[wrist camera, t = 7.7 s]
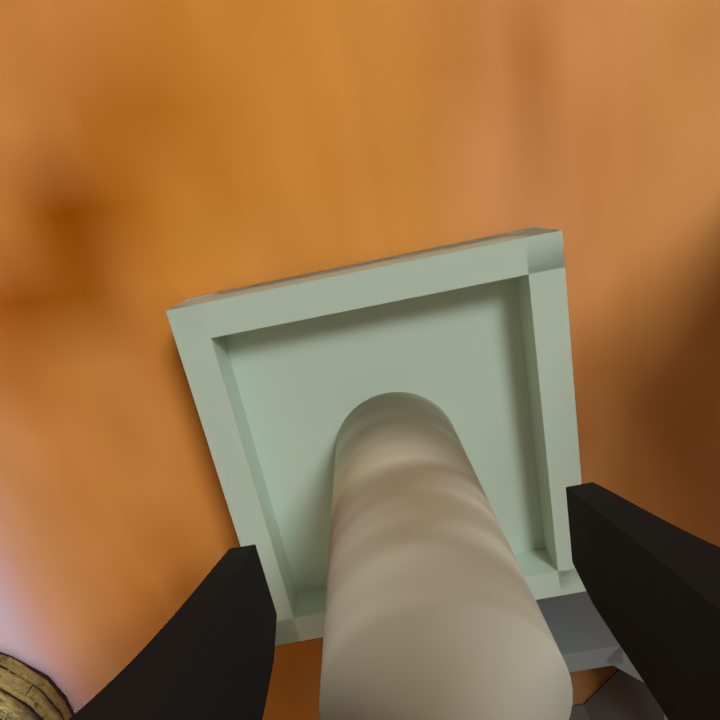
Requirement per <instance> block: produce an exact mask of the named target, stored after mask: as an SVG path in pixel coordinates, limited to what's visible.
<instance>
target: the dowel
mask: <svg viewBox="0 0 720 720" xmlns="http://www.w3.org/2000/svg"><path fill="white" fill-rule="evenodd" d="M572 703H573V688H572V682H571V677H570V674H569V671H568V668H567V665H566V663H565V661H564V659H563V657H562V655H561V653H560V650H559V648H558V646H557V644H556V642H555V640H554V638H553V636H552V634H551V632H550V629H549V627H548V625H547V623H546V621H545V619H544V617H543V615H542V613H541V610H540V608H539V606H538V604H537V602H536V600H535V598H534V596H533V594H532V591H531V589H530V587H529V585H528V583H527V581H526V579H525V577H524V575H523V572H522V570H521V568H520V566H519V564H518V562H517V560H516V558H515V556H514V553H513V551H512V549H511V547H510V545H509V543H508V541H507V539H506V537H505V534H504V532H503V530H502V528H501V526H500V524H499V522H498V520H497V518H496V516H495V513H494V511H493V509H492V507H491V505H490V503H489V501H488V499H487V497H486V494H485V492H484V490H483V488H482V486H481V484H480V482H479V480H478V478H477V475H476V473H475V471H474V469H473V467H472V465H471V463H470V461H469V459H468V456H467V454H466V452H465V450H464V448H463V446H462V444H461V442H460V440H459V437H458V435H457V433H456V431H455V429H454V427H453V425H452V423H451V421H450V419H449V418H448V416H447V415H446V414H445V412H444V411H443V410H442V409H441V408H440V407H439V406H437V405H436V404H435V403H433V402H432V401H430V400H428V399H427V398H424V397H422V396H419V395H416V394H412V393H406V392H390V393H384V394H380V395H377V396H374V397H372V398H369V399H368V400H366V401H364V402H362V403H361V404H359V405H358V406H357V407H356V408H355V409H353V410H352V411H351V412H350V414H349V415H348V416H347V417H346V419H345V420H344V422H343V423H342V425H341V428H340V430H339V433H338V436H337V441H336V452H335V467H334V482H333V497H332V513H331V528H330V543H329V558H328V574H327V589H326V604H325V619H324V634H323V650H322V665H321V680H320V695H319V718H320V720H569V718H570V715H571V709H572Z"/></svg>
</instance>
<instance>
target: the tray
mask: <svg viewBox="0 0 720 720" xmlns="http://www.w3.org/2000/svg"><path fill="white" fill-rule="evenodd" d="M166 313H167V316H168V320H169V323H170V326H171V329H172V332H173V335H174V338H175V342H176V345H177V348H178V351H179V354H180V357H181V360H182V364H183V367H184V370H185V373H186V376H187V379H188V382H189V386H190V389H191V392H192V395H193V398H194V401H195V404H196V408H197V411H198V414H199V417H200V420H201V423H202V426H203V430H204V433H205V436H206V439H207V442H208V445H209V449H210V452H211V455H212V458H213V461H214V464H215V467H216V471H217V474H218V477H219V480H220V483H221V486H222V489H223V493H224V496H225V499H226V502H227V505H228V508H229V511H230V515H231V518H232V521H233V524H234V527H235V530H236V533H237V537H238V540H239V543H240V546H241V547H243V546H248V545H254V544H255V545H256V548H257V551H258V555H259V558H260V561H261V564H262V568H263V571H264V574H265V577H266V581H267V584H268V587H269V590H270V594H271V597H272V600H273V603H274V607H275V610H276V613H277V622H276V637H275V646H276V645H282V644H288V643H293V642H299V641H305V640H311V639H316V638H322V637H323V634H324V619H325V604H326V589H327V574H328V558H329V543H330V528H331V513H332V497H333V482H334V467H335V452H336V441H337V436H338V433H339V430H340V428H341V425H342V423H343V422H344V420H345V419H346V417H347V416H348V415H349V414H350V412H351V411H352V410H353V409H355V408H356V407H357V406H358V405H359V404H361V403H362V402H364V401H366V400H368V399H369V398H372V397H374V396H377V395H380V394H384V393H390V392H406V393H412V394H416V395H419V396H422V397H424V398H427V399H428V400H430V401H432V402H433V403H435V404H436V405H437V406H439V407H440V408H441V409H442V410H443V411H444V412H445V414H446V415H447V416H448V418H449V419H450V421H451V423H452V425H453V427H454V429H455V431H456V433H457V435H458V437H459V440H460V442H461V444H462V446H463V448H464V450H465V452H466V454H467V456H468V459H469V461H470V463H471V465H472V467H473V469H474V471H475V473H476V475H477V478H478V480H479V482H480V484H481V486H482V488H483V490H484V492H485V494H486V497H487V499H488V501H489V503H490V505H491V507H492V509H493V511H494V513H495V516H496V518H497V520H498V522H499V524H500V526H501V528H502V530H503V532H504V534H505V537H506V539H507V541H508V543H509V545H510V547H511V549H512V551H513V553H514V556H515V558H516V560H517V562H518V564H519V566H520V568H521V570H522V572H523V575H524V577H525V579H526V581H527V583H528V585H529V587H530V589H531V591H532V594H533V596H534V598H535V600H538V599H544V598H550V597H556V596H561V595H567V594H573V593H578V592H584V591H586V589H585V587H584V585H583V583H582V581H581V579H580V577H579V575H578V573H577V571H576V569H575V567H574V564H573V562H572V553H571V541H570V530H569V519H568V508H567V496H566V487H569V486H575V485H580V484H582V481H581V468H580V455H579V443H578V430H577V417H576V404H575V391H574V378H573V366H572V353H571V340H570V327H569V314H568V302H567V289H566V276H565V263H564V250H563V238H562V230H555V229H545V228H531V229H526V230H521V231H516V232H511V233H506V234H501V235H496V236H492V237H487V238H482V239H477V240H472V241H467V242H462V243H457V244H452V245H447V246H442V247H438V248H433V249H428V250H423V251H418V252H413V253H408V254H403V255H398V256H393V257H389V258H384V259H379V260H374V261H369V262H364V263H359V264H354V265H349V266H344V267H340V268H335V269H330V270H325V271H320V272H315V273H310V274H305V275H300V276H295V277H290V278H286V279H281V280H276V281H271V282H266V283H261V284H256V285H251V286H246V287H241V288H237V289H232V290H227V291H222V292H217V293H212V294H207V295H202V296H197V297H192V298H188V299H186V300H184V301H182V302H181V303H179V304H177V305H175V306H173V307H172V308H170V309H168V310H166Z"/></svg>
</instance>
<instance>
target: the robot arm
mask: <svg viewBox="0 0 720 720" xmlns="http://www.w3.org/2000/svg"><path fill="white" fill-rule="evenodd" d="M566 496H567V508H568V519H569V530H570V541H571V553H572V562H573V564H574V567H575V569H576V571H577V573H578V575H579V577H580V579H581V581H582V583H583V585H584V587H585V589H586V591H587V593H588V595H589V597H590V599H591V601H592V603H593V605H594V606H595V608H596V609H597V611H598V612H599V614H600V616H601V617H602V619H603V620H604V622H605V623H606V625H607V626H608V628H609V629H610V631H611V633H612V634H613V636H614V637H615V639H616V640H617V642H618V643H619V645H620V646H621V648H622V649H623V651H624V652H625V654H626V655H627V657H628V658H629V660H630V661H631V663H632V665H633V666H634V668H635V669H636V671H637V672H638V674H639V675H640V677H641V678H642V680H643V681H644V683H645V684H646V686H647V687H648V689H649V690H650V692H651V693H652V695H653V696H654V698H655V699H656V701H657V703H658V704H659V706H660V707H661V709H662V711H663V712H664V714H665V716H666V717H667V719H668V720H720V548H719V547H717V546H715V545H713V544H711V543H709V542H707V541H704V540H702V539H700V538H698V537H696V536H694V535H692V534H690V533H688V532H686V531H684V530H682V529H680V528H678V527H676V526H674V525H672V524H670V523H668V522H666V521H664V520H662V519H661V518H659V517H657V516H655V515H653V514H651V513H649V512H647V511H646V510H644V509H642V508H640V507H638V506H636V505H635V504H633V503H631V502H629V501H627V500H625V499H624V498H622V497H620V496H618V495H616V494H614V493H613V492H611V491H609V490H607V489H605V488H603V487H601V486H599V485H597V484H595V483H593V482H591V483H586V484H580V485H575V486H569V487H566ZM276 622H277V613H276V610H275V607H274V603H273V600H272V597H271V594H270V590H269V587H268V584H267V581H266V577H265V574H264V571H263V568H262V564H261V561H260V558H259V555H258V551H257V548H256V545H255V544H254V545H248V546H243V547H237V548H232V549H229V550H228V551H227V553H226V554H225V555H224V556H223V557H222V558H221V559H220V561H219V562H218V563H217V564H216V566H215V567H214V568H213V569H212V570H211V572H210V573H209V574H208V575H207V576H206V578H205V579H204V580H203V581H202V583H201V584H200V585H199V586H198V587H197V589H196V590H195V591H194V592H193V593H192V595H191V596H190V597H189V598H188V599H187V601H186V602H185V603H184V604H183V605H182V606H181V608H180V609H179V610H178V611H177V612H176V614H175V615H174V616H173V617H172V618H171V619H170V620H169V621H168V623H167V624H166V625H165V626H164V627H163V628H162V629H161V630H160V631H159V632H158V633H157V635H156V636H155V637H154V638H153V639H152V640H151V641H150V642H149V643H148V644H147V646H146V647H145V648H144V649H143V650H142V651H141V652H140V653H139V654H138V655H137V656H136V657H135V658H134V659H133V660H132V661H131V662H130V663H129V664H128V665H127V666H126V667H125V668H124V669H123V670H122V671H121V672H120V673H119V674H118V675H117V676H116V677H115V678H114V679H113V680H112V681H111V682H110V683H109V684H108V685H107V686H106V687H105V688H103V689H102V690H101V691H100V692H99V693H98V694H97V695H96V696H95V697H94V698H93V699H92V700H91V701H89V702H88V703H87V704H86V705H85V706H84V707H83V708H81V709H80V710H79V711H78V712H77V713H75V714H74V715H73V716H72V717H71V718H70V719H68V720H262V718H263V713H264V708H265V703H266V698H267V692H268V687H269V682H270V677H271V672H272V666H273V661H274V650H275V637H276Z"/></svg>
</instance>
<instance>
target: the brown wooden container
mask: <svg viewBox="0 0 720 720" xmlns="http://www.w3.org/2000/svg"><path fill="white" fill-rule="evenodd" d="M73 715H74V714H73V712H72V710H71V708H70V706H69V704H68V702H67V700H66V697H65V696H64V695H63V694H62V692H61V691H60V690H59V689H58V688H57V687H56V685H55V684H54V683H53V682H52V681H51V680H50V678H49V677H48V676H46V675H44V674H42V673H41V672H39V671H37V670H35V669H33V668H31V667H29V666H28V665H26V664H24V663H22V662H20V661H18V660H16V659H15V658H13V657H11V656H8V655H6V654H3V653H0V720H68V719H70V718H71V717H72V716H73Z"/></svg>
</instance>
